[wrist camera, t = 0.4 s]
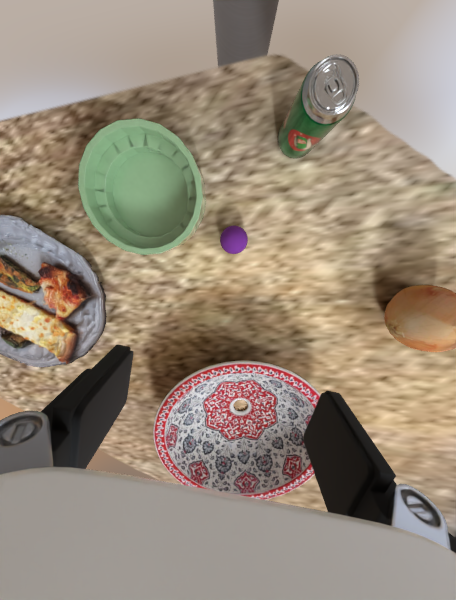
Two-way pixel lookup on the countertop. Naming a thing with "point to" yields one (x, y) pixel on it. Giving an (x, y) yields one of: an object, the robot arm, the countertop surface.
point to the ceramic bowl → (237, 429)
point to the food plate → (46, 298)
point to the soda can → (319, 105)
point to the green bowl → (141, 187)
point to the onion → (423, 318)
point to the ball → (233, 239)
